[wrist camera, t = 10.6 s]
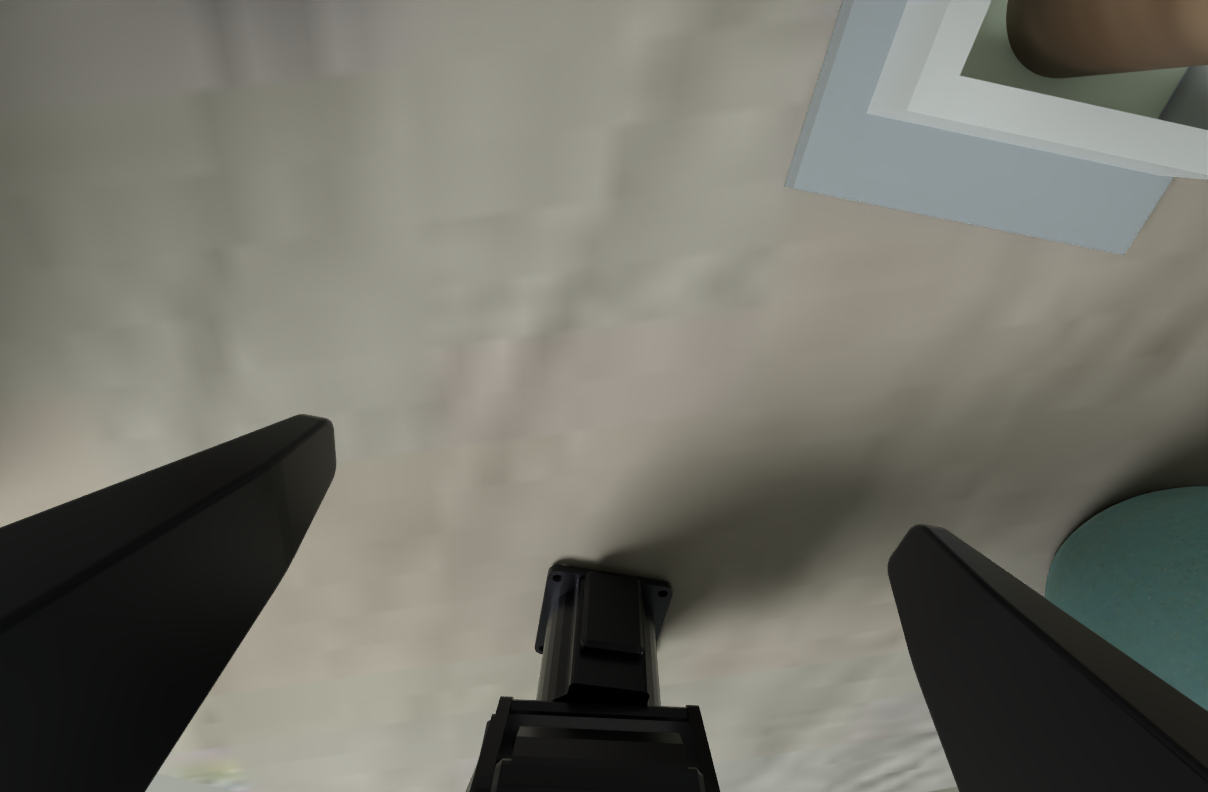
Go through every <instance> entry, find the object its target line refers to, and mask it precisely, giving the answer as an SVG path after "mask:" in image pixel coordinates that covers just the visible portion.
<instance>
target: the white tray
mask: <svg viewBox="0 0 1208 792" xmlns="http://www.w3.org/2000/svg"><path fill="white" fill-rule="evenodd" d="M1007 3H1008V0H843V3H842V6H841V9H840V12H839V15H838V18H837V21H836V25H835V28H834V31H833V34H832V37H831V40H830V43H829V46H828V50H827V53H826V56H825V59H824V62H823V65H822V68H821V72H820V75H819V78H818V81H817V84H816V87H815V90H814V94H813V97H812V100H811V103H810V106H809V109H808V112H807V116H806V119H805V122H804V125H803V128H802V131H801V134H800V138H799V141H798V144H797V147H796V150H795V153H794V156H793V160H792V163H791V166H790V169H789V172H788V175H787V178H786V181H785V185H784V186H787V187H790V188H793V189H798V190H803V191H808V192H813V193H818V194H823V195H828V196H833V197H838V198H843V199H848V200H853V201H858V202H863V203H868V204H873V205H877V206H882V207H887V208H892V209H897V210H902V211H907V212H912V213H917V214H922V215H927V216H932V217H937V218H942V219H947V220H952V221H957V222H962V223H967V224H972V225H977V226H982V227H987V228H992V229H997V230H1002V231H1007V232H1012V233H1017V234H1022V235H1027V236H1032V237H1037V238H1042V239H1047V240H1052V241H1057V242H1062V243H1066V244H1071V245H1076V246H1081V247H1086V248H1091V249H1096V250H1101V251H1106V252H1111V253H1116V254H1121V255H1124V254H1125V253H1126V251H1127V250H1128V248H1129V246H1130V245H1131V243H1132V242H1133V240H1134V239H1135V237H1136V236H1137V234H1138V232H1139V231H1140V229H1141V228H1142V226H1143V225H1144V223H1145V221H1146V220H1147V218H1148V217H1149V215H1150V214H1151V212H1152V211H1153V209H1154V207H1155V206H1156V204H1157V203H1158V201H1159V200H1160V198H1161V196H1162V195H1163V193H1164V192H1165V190H1166V189H1167V187H1168V185H1169V184H1170V182H1171V181H1172V179H1173V178H1174V177H1182V178H1193V179H1205V180H1208V65H1202V66H1191V67H1180V68H1170V69H1159V70H1148V71H1137V72H1126V73H1116V74H1105V75H1094V76H1083V77H1072V78H1048V77H1043V76H1040V75H1037V74H1035V73H1033V72H1031V71H1030V70H1028V69H1027V68H1026V67H1024V66H1023V65H1022V64H1021V63H1020V61H1019V60H1018V59H1017V58H1016V56H1015V54H1014V53H1013V51H1012V49H1011V46H1010V43H1009V40H1008V35H1007V29H1006V11H1007Z"/></svg>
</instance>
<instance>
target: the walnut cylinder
mask: <svg viewBox="0 0 1208 792" xmlns="http://www.w3.org/2000/svg"><path fill="white" fill-rule="evenodd" d="M1006 29H1007V35H1008V40H1009V43H1010V46H1011V49H1012V51H1013V53H1014V54H1015V56H1016V58H1017V59H1018V60H1019V61H1020V63H1021V64H1022V65H1023V66H1024V67H1026V68H1027V69H1028V70H1030V71H1031V72H1033V73H1035V74H1037V75H1040V76H1043V77H1048V78H1072V77H1083V76H1094V75H1105V74H1116V73H1126V72H1137V71H1148V70H1159V69H1170V68H1180V67H1191V66H1202V65H1208V0H1008V3H1007V11H1006Z"/></svg>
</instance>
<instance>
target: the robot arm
mask: <svg viewBox="0 0 1208 792" xmlns="http://www.w3.org/2000/svg"><path fill="white" fill-rule="evenodd" d="M335 470H336V452H335V439H334V428H333V424H332V422H331V421H330V420H329V419H327V418H323V417H317V416H312V415H306V414H299V415H296V416H293V417H290V418H288V419H285V420H283V421H280V422H277V423H275V424H272V425H269V426H267V427H264V428H262V429H259V430H256V431H254V432H251V433H248V434H246V435H243V436H240V437H238V438H235V439H233V440H230V441H227V442H225V443H222V444H219V445H217V446H214V447H212V448H209V449H206V450H204V451H201V452H198V453H196V454H193V455H191V456H188V457H185V458H183V459H180V460H177V461H175V462H172V463H169V464H167V465H164V466H162V467H159V468H156V469H154V470H151V471H148V472H146V473H143V474H140V475H138V476H135V477H133V478H130V479H127V480H125V481H122V482H119V483H117V484H114V485H111V486H109V487H106V488H104V489H101V490H98V491H96V492H93V493H90V494H88V495H85V496H82V497H80V498H77V499H75V500H72V501H69V502H67V503H64V504H61V505H59V506H56V507H53V508H51V509H48V510H46V511H43V512H40V513H38V514H35V515H32V516H30V517H27V518H24V519H22V520H19V521H17V522H14V523H11V524H9V525H6V526H3V527H1V528H0V792H145V791H146V789H147V788H148V786H149V785H150V783H151V782H152V780H153V779H154V777H155V775H156V774H157V772H158V771H159V769H160V768H161V766H162V765H163V763H164V762H165V760H166V758H167V757H168V755H169V754H170V752H171V751H172V749H173V748H174V746H175V745H176V743H177V741H178V740H179V738H180V737H181V735H182V734H183V732H184V731H185V729H186V727H187V726H188V724H189V723H190V721H191V720H192V718H193V717H194V715H195V714H196V712H197V710H198V709H199V707H200V706H201V704H202V703H203V701H204V700H205V698H206V696H207V695H208V693H209V692H210V690H211V689H212V687H213V686H214V684H215V683H216V681H217V679H218V678H219V676H220V675H221V673H222V672H223V670H224V669H225V667H226V665H227V664H228V662H229V661H230V659H231V658H232V656H233V655H234V653H235V652H236V650H237V648H238V647H239V645H240V644H241V642H242V641H243V639H244V638H245V636H246V634H247V633H248V631H249V630H250V628H251V627H252V625H253V624H254V622H255V621H256V619H257V617H258V616H259V614H260V613H261V611H262V610H263V608H264V607H265V605H266V603H267V602H268V600H269V599H270V597H271V596H272V594H273V593H274V591H275V589H276V588H277V586H278V585H279V583H280V581H281V580H282V578H283V576H284V575H285V573H286V572H287V570H288V568H289V566H290V564H291V562H292V560H293V558H294V557H295V555H296V553H297V551H298V549H299V547H300V545H301V543H302V541H303V539H304V536H305V534H306V532H307V530H308V528H309V526H310V524H311V522H312V520H313V518H314V516H315V514H316V512H317V510H318V508H319V506H320V504H321V502H322V500H323V498H324V496H325V494H326V492H327V490H328V488H329V486H330V484H331V482H332V480H333V478H334V475H335ZM556 575H560V576H556ZM888 576H889V580H890V583H891V587H892V591H893V595H894V598H895V602H896V606H897V609H898V613H899V617H900V621H901V624H902V628H903V632H904V635H905V639H906V643H907V647H908V650H909V654H910V657H911V661H912V664H913V667H914V670H915V673H916V676H917V679H918V682H919V685H920V687H921V690H922V693H923V695H924V698H925V701H926V704H927V706H928V709H929V712H930V714H931V717H932V720H933V722H934V725H935V728H936V730H937V733H938V736H939V738H940V741H941V744H942V747H943V749H944V752H945V755H946V757H947V760H948V763H949V765H950V768H951V771H952V773H953V776H954V779H955V781H956V784H957V787H958V790H959V792H1208V711H1207V710H1205V709H1204V708H1203V707H1201V706H1200V705H1198V704H1197V703H1195V702H1194V701H1192V700H1191V699H1190V698H1188V697H1187V696H1185V695H1184V694H1182V693H1181V692H1179V691H1178V690H1177V689H1175V688H1174V687H1172V686H1171V685H1169V684H1168V683H1167V682H1165V681H1164V680H1162V679H1161V678H1159V677H1158V676H1156V675H1155V674H1154V673H1152V672H1151V671H1149V670H1148V669H1146V668H1145V667H1144V666H1142V665H1141V664H1139V663H1138V662H1136V661H1135V660H1133V659H1132V658H1131V657H1129V656H1128V655H1126V654H1125V653H1123V652H1122V651H1121V650H1119V649H1118V648H1116V647H1115V646H1113V645H1112V644H1110V643H1109V642H1108V641H1106V640H1105V639H1103V638H1102V637H1100V636H1099V635H1097V634H1096V633H1095V632H1093V631H1092V630H1090V629H1089V628H1087V627H1086V626H1085V625H1083V624H1082V623H1080V622H1079V621H1077V620H1076V619H1074V618H1073V617H1072V616H1070V615H1069V614H1067V613H1066V612H1064V611H1063V610H1062V609H1060V608H1059V607H1057V606H1056V605H1054V604H1053V603H1051V602H1050V601H1049V600H1047V599H1046V598H1044V597H1043V596H1041V595H1040V594H1038V593H1037V592H1036V591H1034V590H1033V589H1031V588H1030V587H1028V586H1027V585H1026V584H1024V583H1023V582H1021V581H1020V580H1018V579H1017V578H1015V577H1014V576H1013V575H1011V574H1010V573H1008V572H1007V571H1005V570H1004V569H1003V568H1001V567H1000V566H998V565H997V564H995V563H994V562H992V561H991V560H990V559H988V558H987V557H985V556H984V555H982V554H981V553H980V552H978V551H977V550H975V549H974V548H972V547H971V546H969V545H968V544H967V543H965V542H964V541H962V540H961V539H959V538H958V537H956V536H955V535H954V534H952V533H951V532H949V531H948V530H946V529H944V528H941V527H936V526H930V525H925V524H917V525H915V526H913V527H911V528H910V529H909V531H908V532H907V534H906V535H905V536H904V538H903V539H902V541H901V542H900V544H899V545H898V547H897V548H896V549H895V551H894V552H893V554H892V555H891V557H890V559H889V562H888ZM661 590H665V591H661ZM672 593H673V592H672V586H671V584H670V583H669V582H667V581H663V580H656V579H649V578H642V577H636V576H629V575H622V574H615V573H608V572H602V571H595V570H588V569H581V568H575V567H568V566H561V565H555V566H552V567H551V568H549V571H548V576H547V581H546V587H545V592H544V598H543V603H542V609H541V615H540V620H539V626H538V631H537V637H536V643H535V650H536V652H538V653H539V654H543V656H542V663H541V671H540V678H539V685H538V692H537V699H536V700H518V699H513V697H504V696H501V697H500V700H499V704H498V707H497V710H496V714H492V717H491V720H490V721H488V722H487V725H486V730H485V734H484V739H483V744H482V748H481V752H480V756H479V760H478V763H477V766H476V768H475V771H474V773H473V775H472V778H471V780H470V782H469V785H468V787H467V789H466V792H720V789H719V785H718V781H717V777H716V773H715V769H714V765H713V761H712V757H711V753H710V749H709V745H708V741H707V737H706V733H705V729H704V725H703V720H702V716H701V712H700V708H699V706H696V705H686V707H667V706H661V702H660V689H659V676H658V663H657V651H656V641H657V639H658V636H659V633H660V630H661V627H662V624H663V621H664V618H665V615H666V612H667V609H668V606H669V603H670V601H671V598H672Z"/></svg>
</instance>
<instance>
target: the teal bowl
mask: <svg viewBox="0 0 1208 792" xmlns="http://www.w3.org/2000/svg"><path fill="white" fill-rule="evenodd" d="M1044 598H1046V599H1047V600H1049V601H1050V602H1051V603H1053V604H1054V605H1056V606H1057V607H1059V608H1060V609H1062V610H1063V611H1064V612H1066V613H1067V614H1069V615H1070V616H1072V617H1073V618H1074V619H1076V620H1077V621H1079V622H1080V623H1082V624H1083V625H1085V626H1086V627H1087V628H1089V629H1090V630H1092V631H1093V632H1095V633H1096V634H1097V635H1099V636H1100V637H1102V638H1103V639H1105V640H1106V641H1108V642H1109V643H1110V644H1112V645H1113V646H1115V647H1116V648H1118V649H1119V650H1121V651H1122V652H1123V653H1125V654H1126V655H1128V656H1129V657H1131V658H1132V659H1133V660H1135V661H1136V662H1138V663H1139V664H1141V665H1142V666H1144V667H1145V668H1146V669H1148V670H1149V671H1151V672H1152V673H1154V674H1155V675H1156V676H1158V677H1159V678H1161V679H1162V680H1164V681H1165V682H1167V683H1168V684H1169V685H1171V686H1172V687H1174V688H1175V689H1177V690H1178V691H1179V692H1181V693H1182V694H1184V695H1185V696H1187V697H1188V698H1190V699H1191V700H1192V701H1194V702H1195V703H1197V704H1198V705H1200V706H1201V707H1203V708H1204V709H1205V710H1207V711H1208V486H1193V487H1182V488H1174V489H1166V490H1160V491H1155V492H1151V493H1147V494H1142V495H1139V496H1136V497H1133V498H1130V499H1128V500H1125V501H1123V502H1120V503H1118V504H1116V505H1113V506H1111V507H1109V508H1108V509H1106V510H1104V511H1102V512H1100V513H1098V514H1097V515H1095V516H1094V517H1092V518H1091V519H1089V520H1088V521H1087V522H1085V523H1084V524H1082V525H1081V526H1080V527H1079V528H1078V529H1077V530H1075V531H1074V532H1073V533H1072V534H1071V535H1070V536H1069V537H1068V538H1067V540H1066V541H1065V542H1064V543H1063V544H1062V546H1061V547H1060V549H1059V550H1058V552H1057V553H1056V555H1055V557H1054V559H1053V561H1052V564H1051V566H1050V569H1049V573H1048V577H1047V581H1046V589H1045V597H1044Z"/></svg>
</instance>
